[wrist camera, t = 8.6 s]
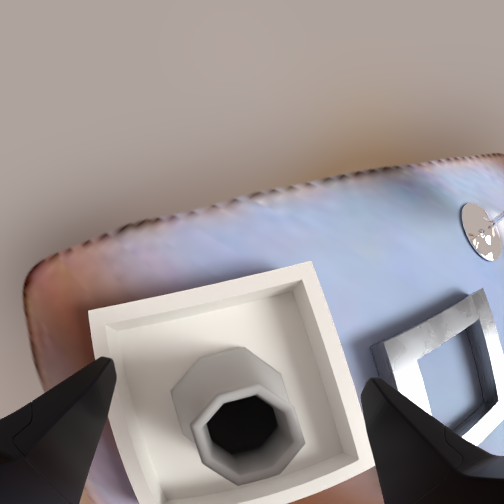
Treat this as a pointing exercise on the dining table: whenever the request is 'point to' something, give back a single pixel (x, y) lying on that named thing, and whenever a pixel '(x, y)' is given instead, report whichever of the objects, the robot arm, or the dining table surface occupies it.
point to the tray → (220, 340)
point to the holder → (432, 336)
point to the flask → (238, 416)
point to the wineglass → (482, 231)
